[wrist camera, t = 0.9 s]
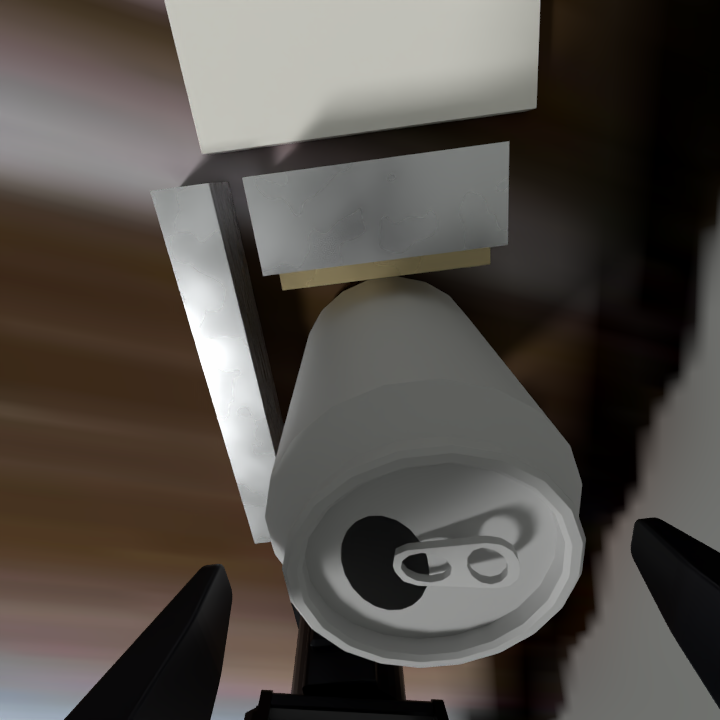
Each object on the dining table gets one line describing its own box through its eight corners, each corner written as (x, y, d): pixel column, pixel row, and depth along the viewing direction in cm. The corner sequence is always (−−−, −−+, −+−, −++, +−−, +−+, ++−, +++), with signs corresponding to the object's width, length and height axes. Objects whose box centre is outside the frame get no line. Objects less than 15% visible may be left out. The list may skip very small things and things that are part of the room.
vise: (479, 483, 23) (503, 543, 19) (264, 506, 23) (248, 569, 19) (474, 148, 16) (509, 140, 13) (177, 188, 17) (128, 192, 13)
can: (284, 298, 19) (184, 482, 8) (454, 250, 18) (618, 375, 7) (334, 439, 21) (316, 719, 10) (483, 402, 21) (630, 661, 10)
